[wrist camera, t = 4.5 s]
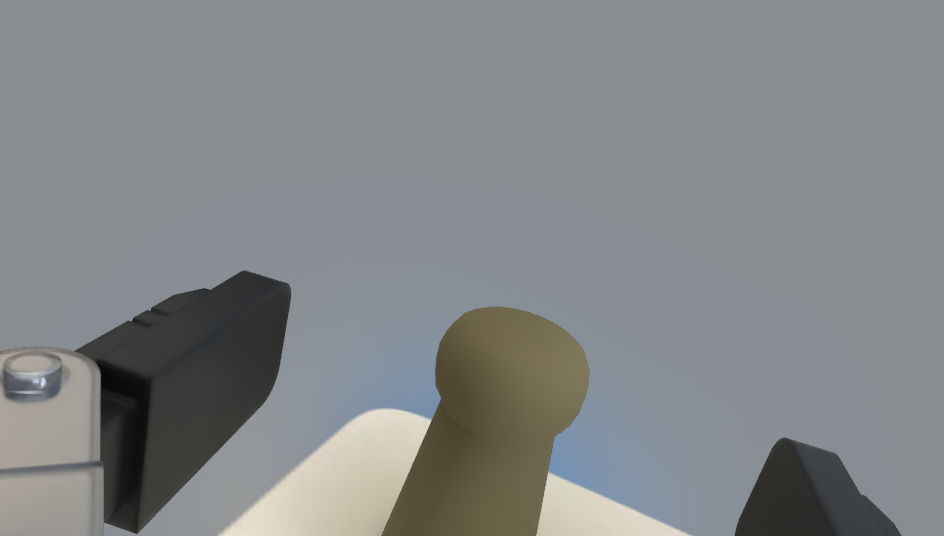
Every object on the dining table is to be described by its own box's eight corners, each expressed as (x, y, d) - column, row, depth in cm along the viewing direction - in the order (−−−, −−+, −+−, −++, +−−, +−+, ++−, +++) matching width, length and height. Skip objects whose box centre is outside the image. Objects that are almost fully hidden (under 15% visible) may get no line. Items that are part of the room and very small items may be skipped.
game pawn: (505, 526, 30) (580, 300, 26) (541, 649, 24) (643, 386, 21) (367, 515, 28) (426, 274, 25) (373, 644, 23) (450, 360, 19)
